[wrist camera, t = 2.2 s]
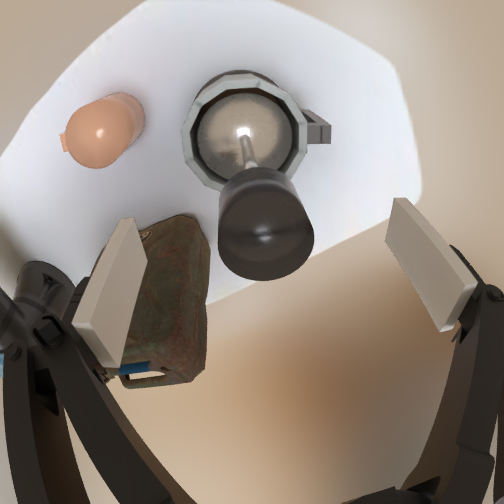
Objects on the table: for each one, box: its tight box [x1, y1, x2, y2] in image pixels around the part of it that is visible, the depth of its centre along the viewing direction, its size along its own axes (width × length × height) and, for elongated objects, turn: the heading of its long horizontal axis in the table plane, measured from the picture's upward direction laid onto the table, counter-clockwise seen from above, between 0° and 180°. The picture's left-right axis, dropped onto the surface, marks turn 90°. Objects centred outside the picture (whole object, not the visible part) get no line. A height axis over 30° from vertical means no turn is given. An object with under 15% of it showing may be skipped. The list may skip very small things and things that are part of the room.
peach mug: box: [60, 93, 145, 169], centre depth 32 cm, size 10×8×9 cm
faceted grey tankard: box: [181, 70, 331, 192], centre depth 32 cm, size 15×13×13 cm
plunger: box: [197, 93, 314, 281], centre depth 21 cm, size 9×9×18 cm
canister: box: [90, 215, 211, 389], centre depth 39 cm, size 19×8×25 cm, turn 108°
